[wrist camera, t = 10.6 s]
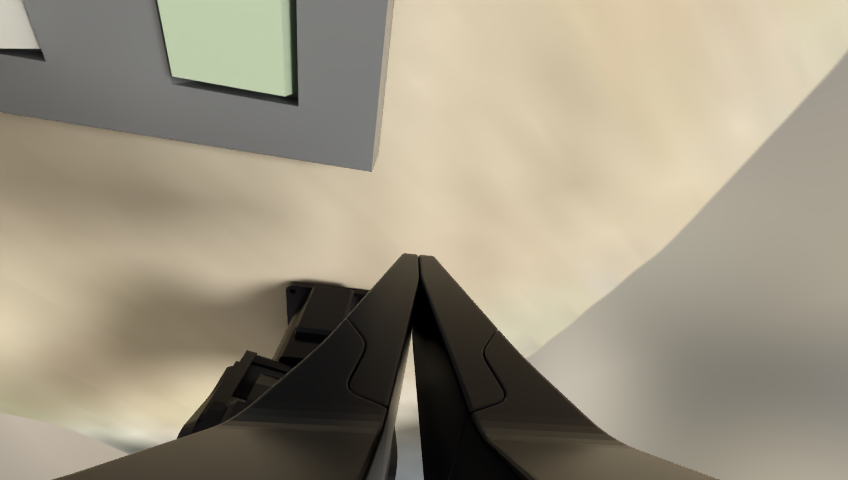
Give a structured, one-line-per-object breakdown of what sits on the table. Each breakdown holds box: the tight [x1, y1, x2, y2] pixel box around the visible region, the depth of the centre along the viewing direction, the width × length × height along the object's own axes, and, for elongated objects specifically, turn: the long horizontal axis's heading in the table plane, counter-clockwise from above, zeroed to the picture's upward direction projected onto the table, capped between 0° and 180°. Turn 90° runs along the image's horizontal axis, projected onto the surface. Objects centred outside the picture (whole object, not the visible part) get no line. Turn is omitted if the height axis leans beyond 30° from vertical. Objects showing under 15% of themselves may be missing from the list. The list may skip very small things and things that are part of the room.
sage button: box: [157, 0, 298, 96], centre depth 13 cm, size 4×4×2 cm
